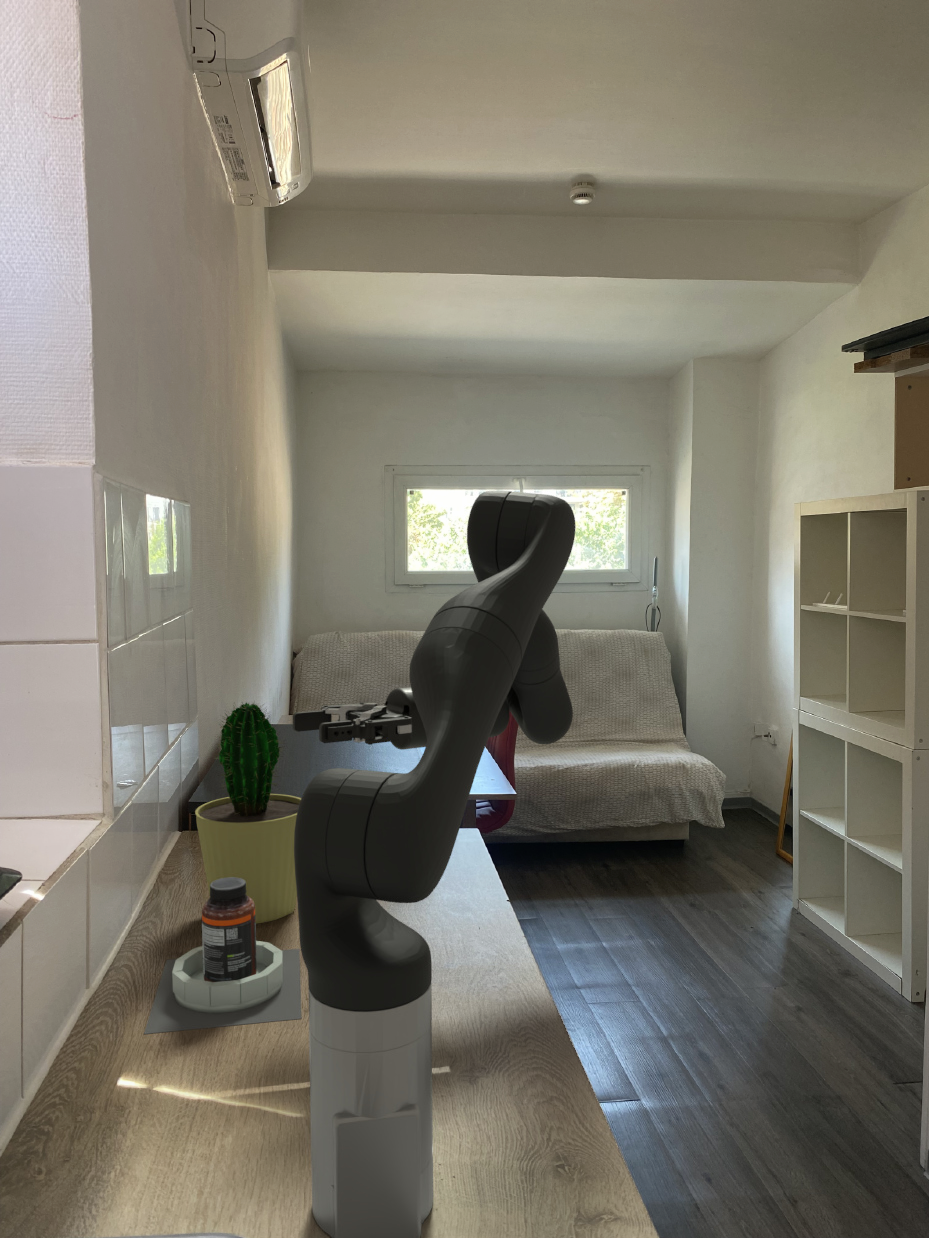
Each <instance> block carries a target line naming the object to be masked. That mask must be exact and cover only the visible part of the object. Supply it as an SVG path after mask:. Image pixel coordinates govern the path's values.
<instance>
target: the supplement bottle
mask: <svg viewBox="0 0 929 1238" xmlns="http://www.w3.org/2000/svg"><path fill="white" fill-rule="evenodd" d="M256 927H257V923H256V915H255V904H254V901H253V900H252V899H251V898H250V897H248V896H247V895H246V882H245V880H243V879H241V878H235V877H228V878H222V879H218V880H215V881H213V882H212V883H211V884H210V896H209V898H208V900H207V901H206V902H205V903H204V904H203V906H202V909H201V931H202V933H201V936H202V937H201V938H202V939H201V940H202V946H203V958H202V959H203V972H204V981H209V982H221V981H233V980H240V979H243V978H246V977H249V976H252V975H255V974H256V972H257V969H256V968H257V959H256V941H257V929H256Z"/></svg>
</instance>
